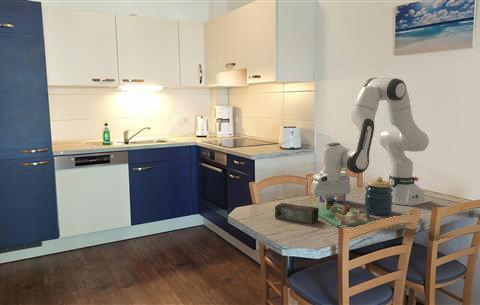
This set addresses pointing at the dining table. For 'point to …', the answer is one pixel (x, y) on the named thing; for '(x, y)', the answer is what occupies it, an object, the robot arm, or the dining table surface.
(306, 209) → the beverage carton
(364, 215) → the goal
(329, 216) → the pitch
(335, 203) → the rod
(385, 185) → the canister
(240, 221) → the dining table surface
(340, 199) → the candy box
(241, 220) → the dining table surface
